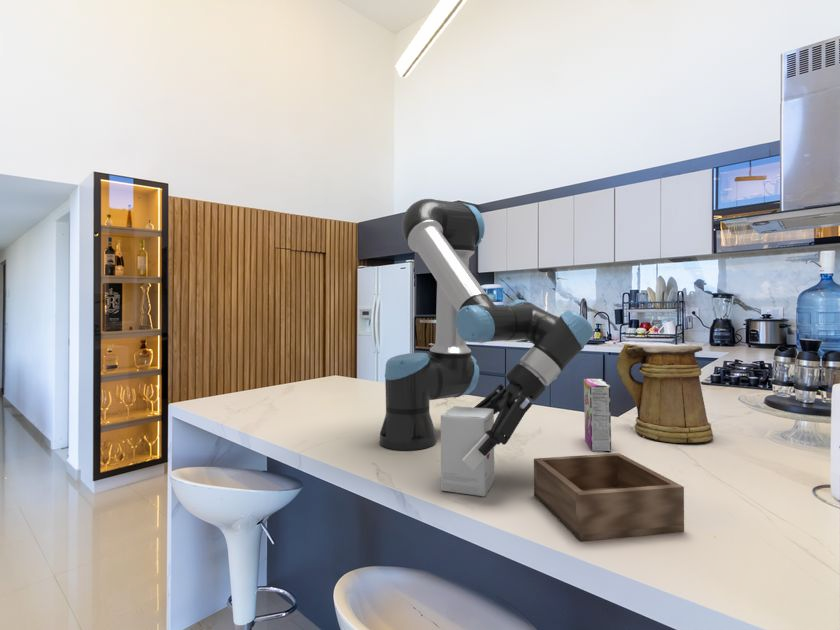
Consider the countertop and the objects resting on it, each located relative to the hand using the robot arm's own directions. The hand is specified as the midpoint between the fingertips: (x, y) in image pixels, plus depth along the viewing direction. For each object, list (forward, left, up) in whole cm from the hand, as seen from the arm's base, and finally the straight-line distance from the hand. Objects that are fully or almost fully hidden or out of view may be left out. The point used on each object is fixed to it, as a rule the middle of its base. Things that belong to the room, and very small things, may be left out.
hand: (459, 454), depth 91 cm
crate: (+26, -3, -6) cm, 27 cm away
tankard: (+42, +55, -7) cm, 70 cm away
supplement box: (+2, +1, -7) cm, 7 cm away
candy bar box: (+25, +38, -7) cm, 46 cm away
